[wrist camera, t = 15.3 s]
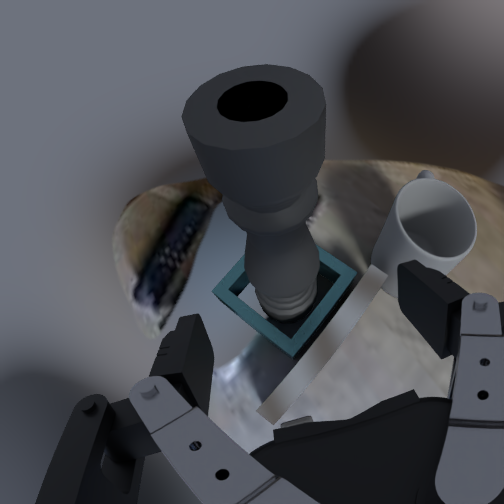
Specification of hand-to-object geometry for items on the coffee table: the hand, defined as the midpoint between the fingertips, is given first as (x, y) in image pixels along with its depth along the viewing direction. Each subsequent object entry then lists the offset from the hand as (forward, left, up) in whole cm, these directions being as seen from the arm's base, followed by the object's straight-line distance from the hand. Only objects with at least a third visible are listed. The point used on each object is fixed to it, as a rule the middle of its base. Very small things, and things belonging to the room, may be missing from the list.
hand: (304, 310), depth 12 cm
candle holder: (-4, -6, -21) cm, 22 cm away
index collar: (-5, -6, -21) cm, 22 cm away
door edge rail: (-2, +1, -21) cm, 21 cm away
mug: (-17, +3, -21) cm, 27 cm away
